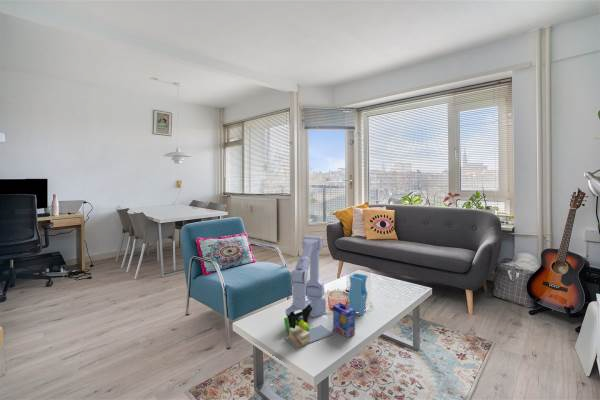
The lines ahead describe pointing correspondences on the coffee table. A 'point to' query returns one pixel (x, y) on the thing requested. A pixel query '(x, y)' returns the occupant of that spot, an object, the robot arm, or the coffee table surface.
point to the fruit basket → (297, 322)
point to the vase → (358, 293)
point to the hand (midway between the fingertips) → (299, 324)
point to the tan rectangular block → (299, 335)
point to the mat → (312, 336)
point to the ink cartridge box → (344, 319)
